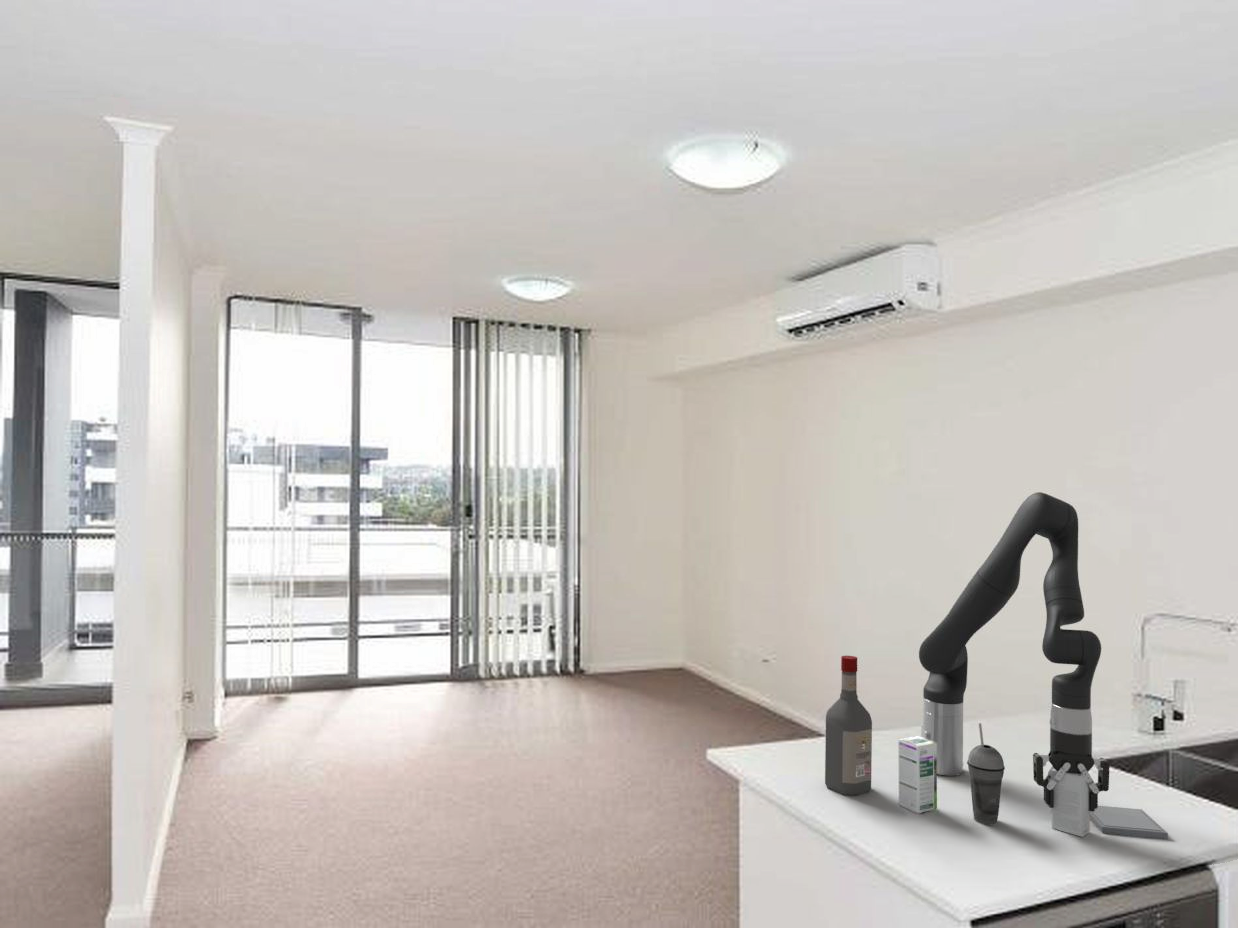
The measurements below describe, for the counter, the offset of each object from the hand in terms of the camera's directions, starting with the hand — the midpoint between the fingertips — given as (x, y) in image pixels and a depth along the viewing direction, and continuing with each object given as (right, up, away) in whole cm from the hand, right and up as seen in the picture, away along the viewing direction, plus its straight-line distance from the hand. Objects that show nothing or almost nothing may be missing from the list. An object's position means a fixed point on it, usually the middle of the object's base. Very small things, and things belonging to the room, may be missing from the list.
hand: (1070, 807), depth 167 cm
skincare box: (0, -5, 0) cm, 5 cm away
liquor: (-40, -4, +21) cm, 45 cm away
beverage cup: (-16, -4, +4) cm, 17 cm away
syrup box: (-28, -4, +10) cm, 30 cm away
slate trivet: (+13, -5, +3) cm, 14 cm away
